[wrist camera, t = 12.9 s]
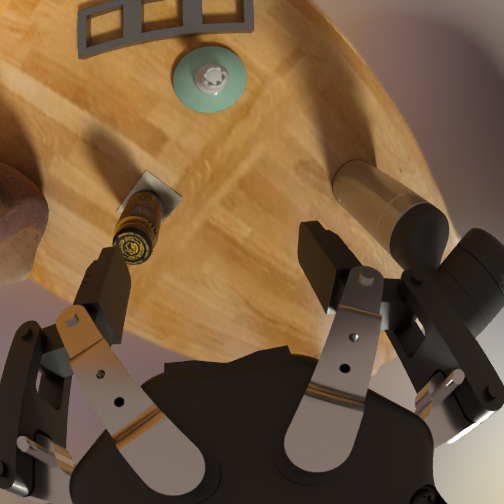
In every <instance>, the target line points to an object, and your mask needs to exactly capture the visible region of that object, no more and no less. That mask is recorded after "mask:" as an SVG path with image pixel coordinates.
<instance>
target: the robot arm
mask: <svg viewBox="0 0 504 504" xmlns="http://www.w3.org/2000/svg"><path fill="white" fill-rule="evenodd" d="M333 194H334V197H335V199H336V200H337V202H338V203H339V204H340V205H341V206H342V207H343V208H344V209H345V210H347V211H348V213H349V214H351V215H352V216H353V217H354V218H355V219H356V220H357V221H358V222H359V223H360V224H361V225H362V226H363V227H364V228H365V229H366V230H367V231H368V232H369V233H370V234H371V235H372V236H373V238H374V239H375V240H376V241H377V242H378V243H379V244H380V245H381V246H382V247H383V248H384V249H385V250H386V251H387V252H388V253H389V254H390V255H391V257H392V258H393V259H394V260H395V261H396V262H397V263H398V264H399V265H400V266H401V267H402V268H403V269H404V270H405V271H403V273H402V275H401V278H400V279H388V278H383V275H382V274H381V273H380V272H379V271H378V270H376V269H374V268H372V267H369V266H363V265H362V264H361V263H360V262H359V260H358V259H357V258H356V257H355V255H354V254H353V253H352V252H351V250H350V249H348V247H347V245H346V244H345V243H344V242H343V241H342V239H341V238H340V237H339V236H338V235H337V234H335V233H334V232H332V231H330V230H325V229H324V228H323V226H322V225H321V224H320V223H319V222H318V221H317V220H316V221H307V222H301V223H300V226H299V239H298V260H299V263H300V266H301V267H302V269H303V271H304V273H305V275H306V277H307V279H308V280H309V282H310V284H311V286H312V288H313V290H314V292H315V294H316V295H317V297H318V299H319V301H320V303H321V305H322V307H323V309H324V311H325V313H326V315H329V314H334V313H336V314H335V317H334V320H333V323H332V326H331V329H330V332H329V335H328V337H327V340H326V343H325V345H324V348H323V351H322V353H321V356H320V359H319V360H318V359H316V358H313V357H310V356H306V355H300V354H291V353H290V351H289V348H288V345H287V346H282V347H277V348H272V349H266V350H261V351H257V352H254V353H252V354H249V355H247V356H244V357H242V358H239V359H237V360H234V361H231V362H228V363H219V362H207V361H196V360H192V361H184V362H173V363H164V373H161V374H159V375H156V376H154V377H152V378H151V379H149V380H148V381H146V382H145V383H143V384H142V385H141V386H139V385H138V383H137V382H136V381H135V380H134V378H133V377H132V376H131V374H130V373H129V372H128V371H127V369H126V368H125V367H124V365H123V364H122V363H121V361H120V360H119V359H118V357H117V356H116V354H115V353H114V352H113V350H112V349H111V344H120V343H121V339H122V332H123V327H124V321H125V315H126V309H127V304H128V299H129V294H130V289H131V277H130V273H129V270H128V268H127V265H126V262H125V259H124V256H123V253H122V250H121V248H120V246H113V247H106V248H103V249H102V251H101V253H100V256H99V258H98V260H94V261H93V263H92V264H91V265H90V266H89V267H88V268H87V270H86V273H85V275H84V278H83V280H82V282H81V283H82V284H81V285H80V287H79V290H78V293H77V295H76V298H75V300H74V303H73V305H72V306H69V307H67V308H65V309H64V310H63V311H62V312H61V313H60V314H59V315H58V317H57V320H56V324H54V325H51V326H48V327H46V328H43V329H42V328H41V327H40V326H39V324H38V323H37V322H36V321H27V322H25V323H24V324H22V325H21V326H20V327H19V328H18V330H17V331H16V333H15V336H14V339H13V342H12V345H11V347H10V350H9V354H8V357H7V360H6V364H5V367H4V371H3V375H2V378H1V382H0V488H2V489H4V490H7V491H9V492H12V493H14V494H16V495H18V496H19V497H22V498H25V499H28V500H31V501H34V502H37V503H41V504H447V503H446V502H445V501H444V499H443V498H442V497H441V495H440V494H439V493H438V491H437V489H436V487H435V484H434V478H433V452H434V449H435V448H436V447H439V446H440V445H442V444H444V443H447V444H448V443H452V442H454V441H456V440H457V439H459V438H460V437H462V436H463V435H465V434H466V433H468V432H469V431H471V430H472V429H474V428H475V427H477V426H478V425H479V424H481V423H482V422H483V421H485V420H486V419H487V418H489V417H490V416H491V415H492V414H494V413H495V412H496V411H498V410H499V409H500V408H501V407H502V405H503V404H504V385H503V383H502V381H501V380H500V378H499V376H498V374H497V373H496V371H495V369H494V368H493V366H492V364H491V363H490V361H489V360H488V358H487V356H486V354H485V353H484V351H483V350H482V348H481V347H480V345H479V344H478V342H477V341H476V339H475V338H476V337H477V336H478V335H479V334H480V333H481V332H482V331H483V330H484V329H485V327H486V326H487V325H488V324H489V323H490V322H491V321H492V319H493V318H494V317H495V316H496V315H497V314H498V312H499V311H500V310H501V309H502V308H503V307H504V245H502V243H501V242H499V241H498V240H497V239H496V238H495V237H493V236H492V235H491V234H489V233H488V232H486V231H484V230H482V229H478V228H473V229H471V230H469V231H468V232H467V233H466V235H465V236H464V237H463V238H462V239H461V240H460V242H459V243H458V244H457V246H456V247H455V248H454V249H453V250H452V252H451V253H450V254H449V255H448V256H447V258H446V259H445V260H444V261H443V262H442V264H441V265H440V262H441V258H442V255H443V252H444V250H445V247H446V244H447V241H448V237H449V223H448V220H447V218H446V216H445V215H444V214H443V213H442V212H441V211H440V210H439V209H438V208H436V207H435V206H433V205H432V204H431V203H429V202H428V201H427V200H425V199H424V198H422V197H421V196H419V195H418V194H416V193H415V192H413V191H412V190H410V189H409V188H408V187H406V186H405V185H403V184H402V183H400V182H399V181H397V180H395V179H394V178H392V177H391V176H389V175H387V174H386V173H384V172H383V171H381V170H379V169H378V168H376V167H374V166H372V165H370V164H369V163H367V162H365V161H362V160H354V161H350V162H348V163H346V164H345V165H344V166H342V167H341V169H340V170H339V171H338V172H337V174H336V176H335V178H334V182H333ZM416 318H418V319H419V321H420V322H421V324H422V325H423V327H424V330H425V336H424V335H423V333H422V331H421V329H420V328H419V326H418V325H417V323H416V322H415V320H416ZM380 330H385V332H386V334H387V336H388V338H389V340H390V341H391V343H392V345H393V347H394V349H395V351H396V353H397V355H398V356H399V358H400V360H401V362H402V364H403V366H404V368H405V370H406V372H407V374H408V376H409V378H410V380H411V382H412V384H413V386H414V388H415V390H416V393H417V396H416V399H415V407H416V410H415V413H413V412H411V411H409V410H407V409H406V408H404V407H401V406H400V405H398V404H396V403H394V402H392V401H391V400H389V399H387V398H385V397H383V396H381V395H379V394H378V393H376V392H374V391H372V390H370V389H368V385H369V381H370V377H371V373H372V369H373V364H374V359H375V355H376V350H377V345H378V339H379V334H380ZM38 371H39V372H40V373H41V374H42V375H41V380H40V385H39V391H38V393H37V390H36V379H37V374H38ZM73 374H75V376H76V378H77V380H78V382H79V384H80V386H81V388H82V389H83V391H84V393H85V395H86V396H87V398H88V400H89V402H90V403H91V405H92V407H93V408H94V410H95V412H96V413H97V415H98V416H99V418H100V420H101V421H102V423H103V424H104V426H105V427H106V429H105V430H104V431H103V433H102V434H101V435H100V436H99V438H98V439H97V440H96V441H95V443H94V444H93V445H92V446H91V448H90V449H89V450H88V451H87V453H86V454H85V455H84V456H83V458H82V459H81V460H80V461H79V463H78V464H77V465H76V466H75V464H74V463H73V460H72V457H71V455H70V454H69V452H68V451H67V450H66V436H67V417H68V405H69V395H70V387H71V380H72V375H73Z"/></svg>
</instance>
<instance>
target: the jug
mask: <svg viewBox="0 0 504 504" xmlns="http://www.w3.org/2000/svg"><path fill="white" fill-rule="evenodd" d="M48 213H49V209H48V205H47V202H46V199H45V197H44V195H43V194H42V192H41V191H40V190H39V189H38V187H37V186H36V185H35V184H34V183H33V182H32V181H31V180H29V179H28V178H27V177H26V176H25V175H24V174H22V173H21V172H20V171H18V170H16V169H15V168H13V167H11V166H9V165H7V164H4V163H2V162H0V286H2V285H6V284H9V283H14V282H18V281H23V280H24V279H26V278H27V277H28V275H29V274H30V272H31V270H32V266H33V262H34V258H35V253H36V250H37V247H38V245H39V243H40V241H41V238H42V236H43V234H44V231H45V229H46V225H47V222H48Z"/></svg>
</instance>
